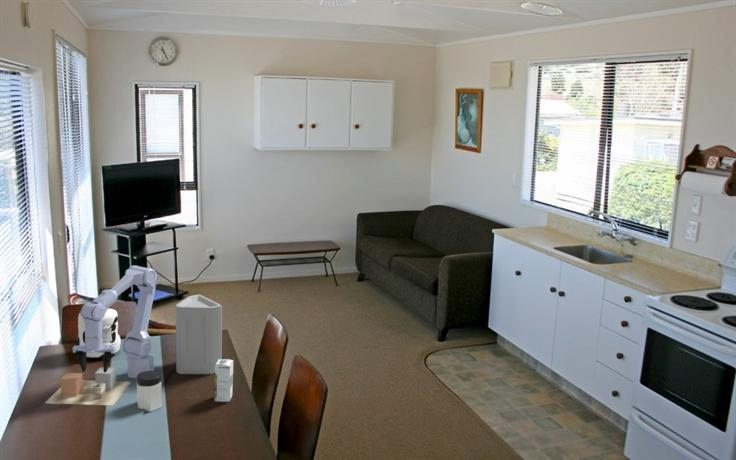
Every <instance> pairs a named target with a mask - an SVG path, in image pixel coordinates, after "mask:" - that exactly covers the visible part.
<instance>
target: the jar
mask: <svg viewBox="0 0 736 460" xmlns="http://www.w3.org/2000/svg"><path fill="white" fill-rule="evenodd" d="M161 380H162V374H161V372H159V371H157V370H154V371H144V372H141V373H139V374H138V375H137V378H136V404H137V408H138V409H141V410H142V409H143V410H144V412H153V411H156V410H158V409H160V408H162V405H163V403H162V397H163V396H162V381H161Z"/></svg>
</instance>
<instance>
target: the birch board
mask: <svg viewBox="0 0 736 460" xmlns="http://www.w3.org/2000/svg"><path fill="white" fill-rule="evenodd" d="M94 383H95V380H88V379H87V380H86V379H83V390H82V391H81V393H80V394H79V395H78V396H61V386H60V387H59V388H58V389H57V390H56V391H55V392H54V393H53V394H52V395H51V396H50V397H49V398H48V399H47V400H46V401H45V402H44V404H51V405H52V404H53V405H54V404H55V405H57V404H58V405H61V404H62V405H85V406H86V405H87V406H114V405H115V404H116V402H118V400H119V399H120V397H122V395H123V394H124V393H125V392H126V390H127V389H128V387H129V386H130V384H132V381H123V380H122V381H121V380H120V381H117V380H116V384H115V386H114V387H113V388H112V389H111V390H105V393H106V394H105V395H104V396H103V397H102V399H101V398H90V387H91V386H92V385H93V384H94Z"/></svg>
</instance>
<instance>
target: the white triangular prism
mask: <svg viewBox="0 0 736 460" xmlns="http://www.w3.org/2000/svg"><path fill="white" fill-rule="evenodd" d="M222 310H223V307H222V304H219V302H215V300H214V301H213V300H212V299H210V298H207V297H205V296H204V295H202V294H194V295H189V296H187V297H186V298H184V299H182V300H181V301H179V302H178V303H177V304H176V305H175V350H176V351H175V355H176V356H175V357H176V358H175V359H176V360H175V361H176V362H175V364H176V365H175V366H176V369H175V370H176V373H178V374H180V375H215V374H214V373H215V365H216V363H217V361H218V360H219V359H223V358H222V355H223V354H222V350H223V349H222V346H223V345H222V344H223V343H222V341H223V340H222V336H223V335H222V333H223V332H222V331H223V327H222V326H223V325H222V324H223V322H222V320H223V319H222V318H223V317H222V316H223V311H222Z"/></svg>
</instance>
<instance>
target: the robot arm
mask: <svg viewBox="0 0 736 460" xmlns="http://www.w3.org/2000/svg"><path fill="white" fill-rule="evenodd" d="M124 274H125V275H123V276H122V278H121V279H119V280H118V281H117V283H115V284H114V286H112V287H111V288H110V289H104V290H102V291H101V293H100V294H99V295H98V296H97V297H95V298H93V300H91V302H85V304H84V305H82V307H81V310H80V312H79V313H80V314H81V316H82V317H83V322H84V323H85V345H80V346H77V345H74V346H72V353H73V354H74V353H75V354H74V357H75V359H76V360H77V362H78V363H79V366H80V368H81V372H82V373H85V372H86V370H87V358H86V354H87V352H88V353H93V352H98V353H104V354H103V355H102V358H101V359H102V363H103V366H102V367H103V370H104V372H107V370H108V367H109V364H110V361H111V358H112V357H113V355H115V354H116V353H115V352H116V351H115V347H112V346H106V345H103V343H102V319H103V317H104V316H105V313H106V311H107V309H110V307H112V306H113V305H114V304H115V303H116V302H117V301H118V296H120V295H121V294H122V293H124V292H125V291H126V290H127V289H129V288H130V287H132V285H134V286H137V288H138V290H139V295H138V299H137V300H138V301H137V305H136V309H135V310H136V311H135V314H134V315H135V316H134V318H133V319H134V320H133V326H132V329H131V330H130V331H129V332H127V333H126V335H125V339H124V340H123V342H122V351H124V353H125V356H126V357H127V358H126V359H127V377H128V378H131V379H137V375H138V374H139V373H141V372H144V371H155V370H154V369H155V368H154V356H153V355H150V352H151V350H152V344H151V343H152V337H151V336H150V335H149V333H148V328H149V323H150V317H151V313H152V307H153V303H154V302H153V301H154V297H155V292H156V288H157V287H156V283H157V280H158V279H157V278H158V273H157V272H156V270H155V269H154V268H149V267H143V266H139V265H131V266H130V267H128V269H126V270H125V273H124ZM114 353H115V354H114ZM112 354H113V355H112Z"/></svg>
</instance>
